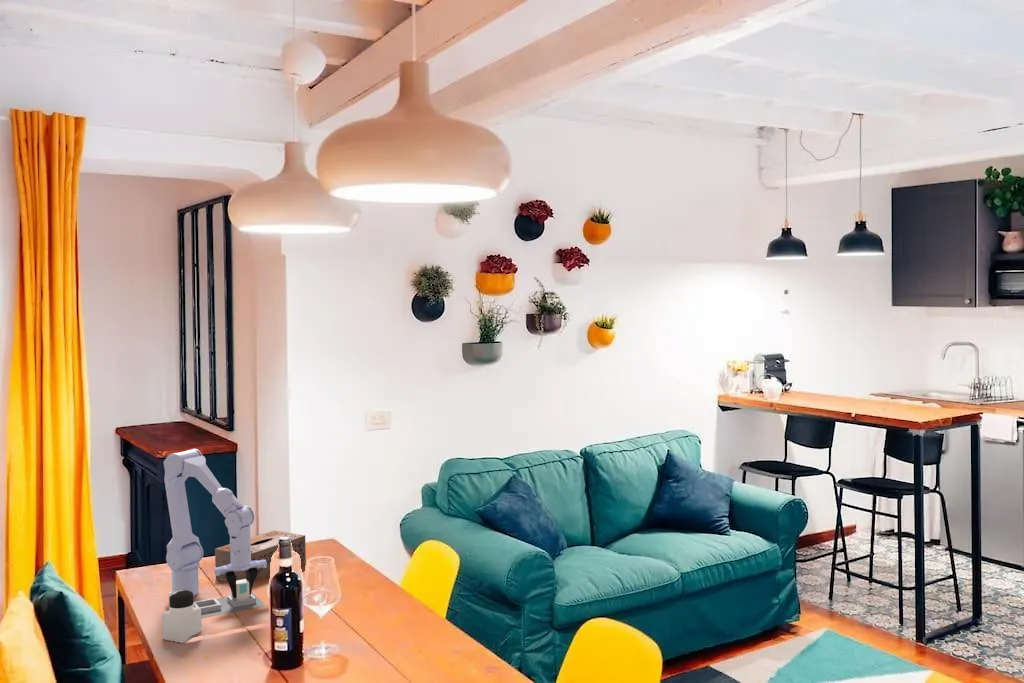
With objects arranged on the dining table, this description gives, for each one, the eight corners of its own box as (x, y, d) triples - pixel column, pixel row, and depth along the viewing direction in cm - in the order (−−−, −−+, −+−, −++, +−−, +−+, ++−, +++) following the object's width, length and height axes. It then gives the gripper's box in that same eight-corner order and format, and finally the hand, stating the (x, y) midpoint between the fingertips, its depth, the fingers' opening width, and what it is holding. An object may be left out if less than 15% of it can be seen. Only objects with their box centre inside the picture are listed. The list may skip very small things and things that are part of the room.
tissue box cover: (248, 586, 282) (247, 554, 281) (215, 579, 289) (215, 548, 289) (305, 564, 304) (305, 535, 304) (274, 558, 311) (273, 530, 311)
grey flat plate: (182, 608, 262) (182, 599, 262) (252, 595, 272) (252, 587, 272) (194, 622, 250) (193, 613, 250) (265, 609, 261) (265, 600, 260)
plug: (233, 601, 264) (233, 581, 264) (246, 599, 266) (245, 579, 266) (237, 605, 261) (237, 585, 261) (250, 603, 263) (249, 582, 262)
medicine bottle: (202, 634, 242) (201, 590, 241) (182, 643, 235) (181, 598, 234) (182, 630, 245) (181, 586, 244) (161, 639, 238) (160, 594, 237)
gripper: (218, 556, 256) (219, 604, 257) (269, 548, 263) (270, 594, 264) (212, 550, 262) (213, 597, 262) (262, 543, 269) (263, 588, 270)
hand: (241, 595), depth 264 cm, fingers closed on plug, 4 cm apart
